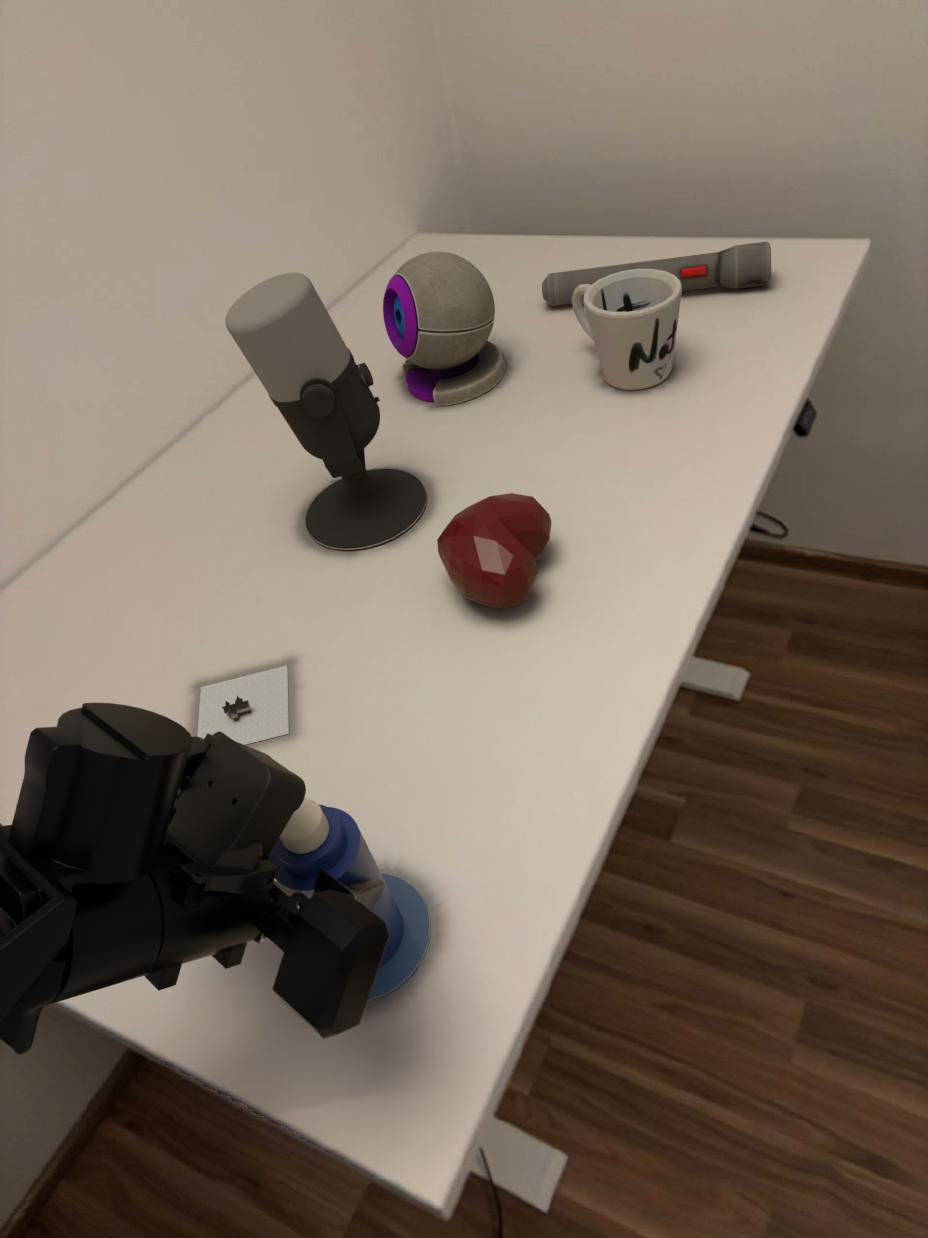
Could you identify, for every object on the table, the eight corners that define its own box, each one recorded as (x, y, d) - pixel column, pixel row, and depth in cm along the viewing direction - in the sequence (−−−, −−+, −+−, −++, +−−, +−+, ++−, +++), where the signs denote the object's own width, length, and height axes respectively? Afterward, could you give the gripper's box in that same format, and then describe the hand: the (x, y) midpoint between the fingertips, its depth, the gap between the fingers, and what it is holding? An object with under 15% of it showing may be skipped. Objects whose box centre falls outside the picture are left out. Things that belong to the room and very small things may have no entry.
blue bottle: (349, 992, 59) (278, 882, 49) (308, 930, 62) (234, 817, 53) (419, 936, 60) (364, 820, 51) (375, 880, 64) (315, 761, 54)
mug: (638, 408, 99) (632, 323, 92) (547, 368, 109) (535, 289, 102) (704, 365, 103) (703, 280, 96) (610, 330, 112) (602, 251, 105)
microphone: (307, 488, 101) (221, 270, 83) (421, 461, 100) (359, 235, 83) (306, 563, 91) (210, 334, 74) (432, 533, 91) (365, 296, 73)
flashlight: (545, 270, 120) (538, 269, 116) (768, 242, 113) (771, 239, 108) (548, 310, 122) (541, 310, 117) (769, 284, 114) (771, 284, 109)
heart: (420, 615, 81) (528, 634, 79) (412, 550, 76) (527, 568, 74) (458, 530, 89) (557, 545, 87) (453, 466, 84) (559, 479, 82)
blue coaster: (372, 1030, 57) (371, 1028, 57) (274, 957, 62) (272, 955, 61) (457, 913, 61) (456, 911, 61) (359, 854, 66) (358, 852, 66)
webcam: (387, 375, 115) (354, 260, 105) (475, 337, 117) (452, 221, 107) (429, 418, 106) (398, 296, 96) (525, 375, 108) (504, 252, 98)
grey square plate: (254, 695, 80) (247, 680, 78) (254, 719, 78) (246, 705, 76) (228, 701, 80) (220, 687, 78) (227, 726, 78) (219, 712, 76)
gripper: (299, 865, 38) (505, 818, 50) (70, 688, 48) (289, 686, 61) (226, 1094, 40) (443, 993, 52) (22, 875, 50) (243, 836, 63)
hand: (348, 864), depth 57 cm, fingers closed on blue bottle, 5 cm apart
